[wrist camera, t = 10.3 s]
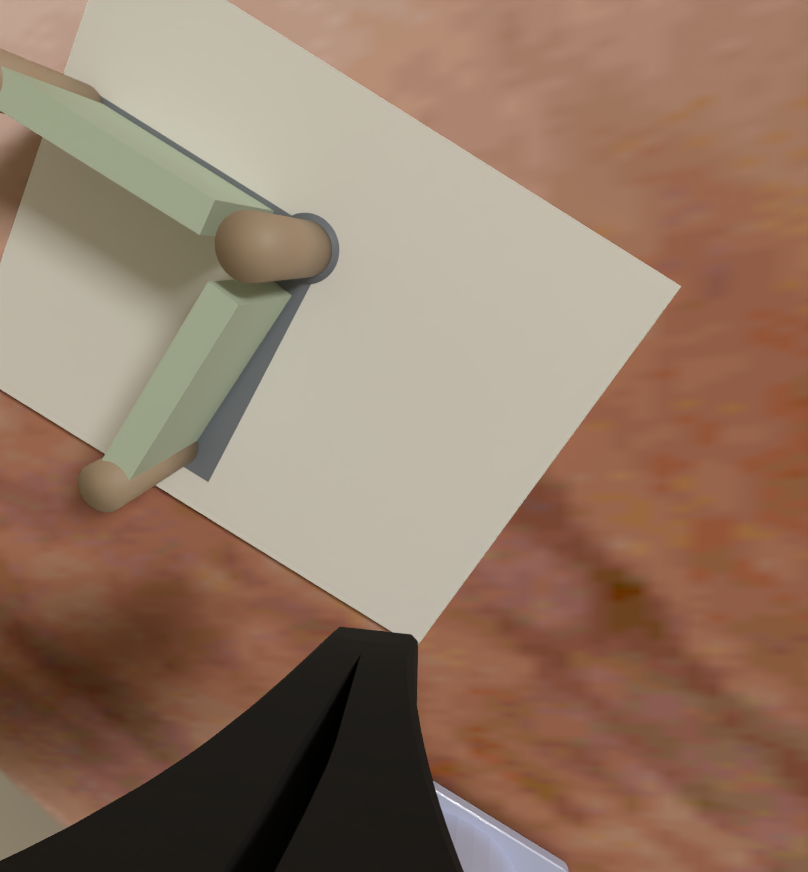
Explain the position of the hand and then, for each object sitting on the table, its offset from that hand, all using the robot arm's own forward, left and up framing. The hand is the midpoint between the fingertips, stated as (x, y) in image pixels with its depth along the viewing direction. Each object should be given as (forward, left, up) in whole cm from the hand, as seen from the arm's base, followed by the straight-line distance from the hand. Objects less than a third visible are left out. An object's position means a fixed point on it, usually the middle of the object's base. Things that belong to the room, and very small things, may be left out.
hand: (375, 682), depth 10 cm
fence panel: (-1, +7, -9) cm, 12 cm away
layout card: (+1, +7, -10) cm, 12 cm away
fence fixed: (+4, +11, -10) cm, 15 cm away
